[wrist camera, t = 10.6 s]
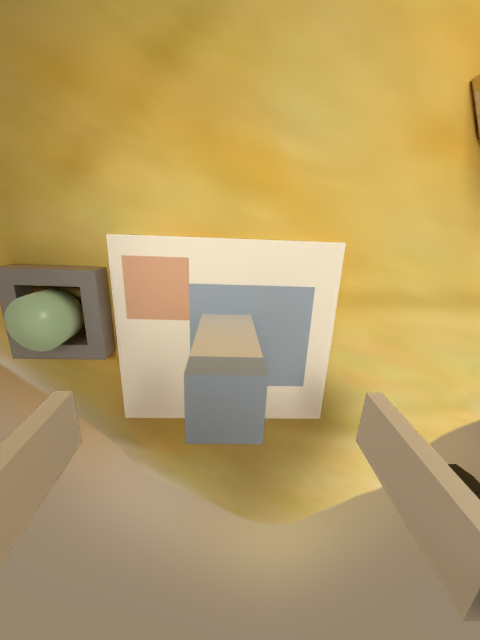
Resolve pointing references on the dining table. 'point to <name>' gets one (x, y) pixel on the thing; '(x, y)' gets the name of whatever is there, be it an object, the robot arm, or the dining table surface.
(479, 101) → the candy box
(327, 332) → the picture card
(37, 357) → the button housing
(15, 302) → the button
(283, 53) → the dining table surface
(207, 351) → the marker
